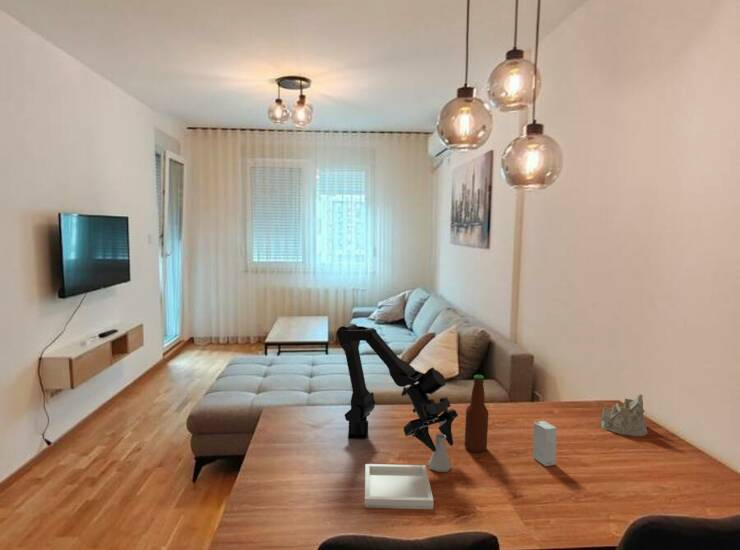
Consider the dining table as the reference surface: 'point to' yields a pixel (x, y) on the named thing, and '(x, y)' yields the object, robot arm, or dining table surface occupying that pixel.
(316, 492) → the dining table surface
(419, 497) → the tray
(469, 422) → the bottle
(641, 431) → the grey rock
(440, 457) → the flask
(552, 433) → the skincare box
